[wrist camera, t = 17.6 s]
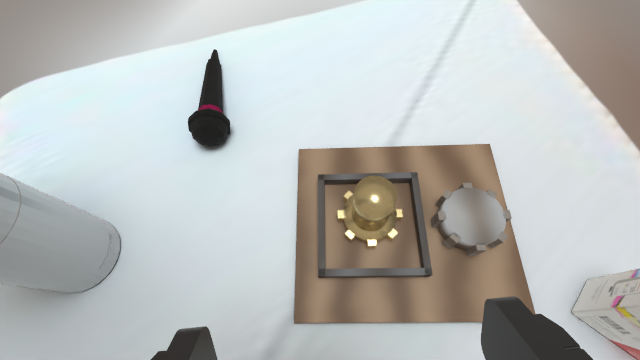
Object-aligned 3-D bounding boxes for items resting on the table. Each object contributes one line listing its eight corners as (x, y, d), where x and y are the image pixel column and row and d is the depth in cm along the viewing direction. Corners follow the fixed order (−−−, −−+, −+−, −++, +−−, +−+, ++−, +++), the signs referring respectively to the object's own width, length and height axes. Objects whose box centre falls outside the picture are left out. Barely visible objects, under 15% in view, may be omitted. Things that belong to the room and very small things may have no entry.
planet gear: (338, 248, 38) (339, 231, 31) (336, 189, 41) (337, 162, 34) (403, 247, 38) (418, 230, 31) (396, 188, 41) (408, 160, 34)
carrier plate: (295, 322, 36) (290, 322, 32) (299, 152, 45) (296, 137, 41) (532, 321, 35) (555, 321, 31) (486, 147, 44) (500, 131, 40)
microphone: (212, 69, 57) (205, 158, 46) (190, 43, 52) (176, 136, 41) (238, 57, 55) (237, 146, 45) (218, 29, 51) (211, 121, 40)
